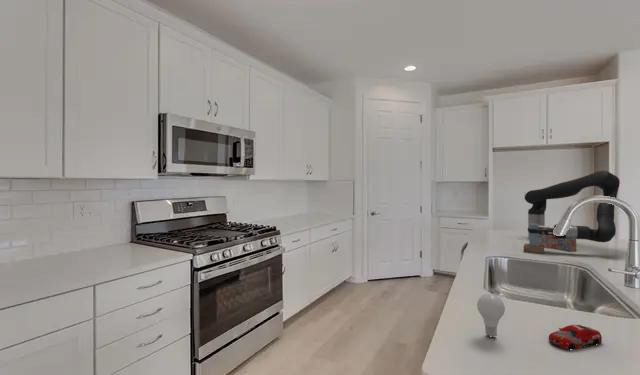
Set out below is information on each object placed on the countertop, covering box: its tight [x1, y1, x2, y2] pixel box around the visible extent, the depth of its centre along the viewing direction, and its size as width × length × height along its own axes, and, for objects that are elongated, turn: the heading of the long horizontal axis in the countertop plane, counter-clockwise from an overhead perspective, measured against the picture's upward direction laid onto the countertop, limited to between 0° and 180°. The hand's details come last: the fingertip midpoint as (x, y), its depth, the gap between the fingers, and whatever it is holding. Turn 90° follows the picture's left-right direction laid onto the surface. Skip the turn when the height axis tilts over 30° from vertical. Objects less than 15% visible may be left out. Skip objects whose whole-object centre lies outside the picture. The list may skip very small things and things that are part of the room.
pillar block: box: [528, 224, 539, 246], centre depth 181 cm, size 4×4×12 cm
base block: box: [523, 243, 545, 255], centre depth 181 cm, size 9×9×4 cm
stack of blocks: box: [539, 225, 577, 252], centre depth 191 cm, size 21×6×12 cm, turn 26°
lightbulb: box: [476, 293, 506, 337], centre depth 84 cm, size 6×6×11 cm
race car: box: [548, 324, 603, 351], centre depth 80 cm, size 13×5×4 cm, turn 103°
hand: (528, 230), depth 182 cm, fingers open, 5 cm apart
